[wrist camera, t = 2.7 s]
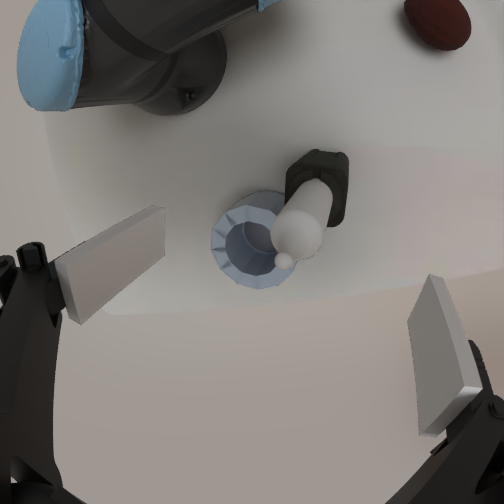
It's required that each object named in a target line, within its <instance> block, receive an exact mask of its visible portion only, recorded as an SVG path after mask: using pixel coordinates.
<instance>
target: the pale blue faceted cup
mask: <svg viewBox="0 0 504 504" xmlns="http://www.w3.org/2000/svg"><path fill="white" fill-rule="evenodd" d="M284 200H285V195H284V194H282V193H280V192H276V191H270V190H264V191H258V192H255V193H253V194H251V195H249V196H247V197H245V198H243V199H241V200H240V201H239V202H237V203H236V204H235V205H233V206H232V207H231V208H229V209H228V210H227V211H225V212H224V214H223V215H222V216H221V218H220V219H219V220H218V222H217V223H216V224H215V226H214V227H213V228H212V239H211V251H212V253H213V255H214V257H215V259H216V262H217V264H218V266H219V268H220V270H222V271H223V272H224V273H225V274H226V275H227V276H229V277H230V278H231V279H232V280H233V281H235V282H236V283H237V284H240V285H244V286H247V287H251V288H254V289H263V288H268V287H273V286H278V285H279V284H280V283H281V282H283V281H284V280H285V279H286V278H287V277H288V276H289V275H290V274H291V273H292V272H293V271H294V268H295V266H296V263H297V261H298V260H294V261H293V265H292V267H291V268H290V269H288V270H281V269H279V268H278V267H277V266H276V265H275V257H276V255H277V254H278V251H277V250H276V249H275V247H274V246H273V244H272V241H271V235H270V231H271V226H272V223H273V221H274V219H275V218H276V217H277V215H278V214H279V213H280V212H281V210H282V209H283V208H284Z"/></svg>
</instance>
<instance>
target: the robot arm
mask: <svg viewBox="0 0 504 504" xmlns="http://www.w3.org/2000/svg"><path fill="white" fill-rule="evenodd" d="M278 1H281V0H38V2H37V3H36V4H35V6H34V7H33V9H32V11H31V13H30V14H29V16H28V18H27V21H26V23H25V26H24V28H23V31H22V35H21V38H20V42H19V49H18V54H17V77H18V84H19V88H20V92H21V94H22V96H23V98H24V100H25V101H26V103H27V104H28V105H29V106H30V107H32V108H34V109H35V110H37V111H61V112H63V111H67V110H69V109H75V108H83V107H93V106H103V105H116V104H133V105H135V106H137V107H139V108H141V109H143V110H145V111H147V112H149V113H152V114H157V115H178V114H183V113H187V112H189V111H192V110H194V109H196V108H197V107H199V106H200V105H202V104H203V103H204V102H205V101H206V100H208V99H209V97H210V96H211V95H212V94H213V93H214V91H215V90H216V89H217V87H218V85H219V84H220V82H221V79H222V77H223V74H224V71H225V67H226V57H227V55H226V47H225V43H224V40H223V38H222V36H221V34H220V33H219V31H218V29H220V28H222V27H224V26H226V25H228V24H230V23H232V22H234V21H236V20H239V19H241V18H243V17H245V16H248V15H250V14H252V13H255V12H258V13H259V12H262V11H263V10H264V9H265V7H267V6H269V5H271V4H274V3H276V2H278ZM164 214H165V208H162V207H158V206H153V205H152V206H150V207H148V208H146V209H144V210H142V211H140V212H139V213H137V214H135V215H133V216H131V217H129V218H127V219H125V220H123V221H121V222H120V223H118V224H116V225H114V226H112V227H110V228H109V229H107V230H105V231H103V232H101V233H100V234H98V235H96V236H94V237H93V238H91V239H89V240H87V241H84V242H83V243H81V244H79V245H78V246H77V247H74V248H72V249H71V250H70V251H67V252H66V253H64V254H62V255H61V256H59V257H57V258H56V259H54V260H53V261H51V262H49V263H48V261H47V257H46V252H45V247H44V245H43V244H42V243H40V242H31V243H27V244H25V245H23V246H21V247H20V248H18V249H17V251H16V252H17V256H18V260H19V264H20V267H16V264H15V260H14V258H13V257H12V256H10V255H6V256H5V255H3V256H0V299H1V302H2V304H3V305H2V307H1V308H0V504H86V503H85V502H83V501H81V500H80V499H78V498H77V497H76V496H74V495H73V494H71V493H70V492H68V491H67V490H66V489H64V488H63V484H62V479H61V475H60V472H59V470H58V468H57V466H56V464H55V460H54V454H53V399H54V383H55V370H56V360H57V352H58V344H59V336H60V330H61V323H62V313H61V310H62V309H63V308H65V307H66V309H67V312H68V316H69V318H70V319H72V320H74V321H75V322H77V323H79V324H80V325H82V324H83V323H84V322H85V321H86V320H87V319H88V318H90V317H91V316H92V315H93V314H94V313H95V312H96V311H98V310H99V309H100V308H101V307H103V306H104V305H105V304H106V303H107V302H108V301H110V300H111V299H112V298H113V297H114V296H116V295H117V294H118V293H119V292H120V291H122V290H123V289H124V288H125V287H126V286H128V285H129V284H130V283H131V282H133V281H134V280H135V279H136V278H137V277H139V276H140V275H141V274H142V273H144V272H145V271H146V270H147V269H149V268H150V267H151V266H152V265H154V264H155V263H156V262H157V261H159V260H160V259H161V258H162V257H164V256H165V226H164ZM407 323H408V329H409V336H410V342H411V348H412V356H413V364H414V372H415V382H416V393H417V407H418V424H419V425H418V427H419V436H424V437H437V436H438V435H439V434H440V433H441V432H443V431H444V430H445V429H446V433H447V438H445V439H444V440H443V441H442V442H441V443H440V444H439V445H438V446H436V447H435V448H434V449H433V450H432V451H431V452H430V453H431V454H432V455H431V456H430V457H429V458H428V459H427V460H426V462H425V463H424V464H423V465H422V466H421V467H420V468H419V470H418V471H417V472H416V473H415V474H414V475H413V476H412V477H411V478H410V480H409V481H408V482H407V483H406V484H405V485H404V486H403V487H402V488H401V489H400V490H399V491H398V492H397V493H396V494H395V495H394V496H393V497H392V498H391V499H390V500H388V501H387V502H386V503H385V504H504V400H503V399H502V398H500V397H499V396H497V395H494V394H493V391H492V388H491V384H490V381H489V377H488V374H487V371H486V369H485V365H484V362H483V361H482V360H483V359H482V356H481V353H480V351H479V349H478V347H477V346H476V345H475V344H474V342H473V341H472V340H468V339H467V336H466V333H465V331H464V328H463V325H462V323H461V320H460V318H459V315H458V313H457V310H456V308H455V305H454V303H453V300H452V298H451V296H450V294H449V291H448V289H447V287H446V284H445V282H444V280H443V278H442V277H438V276H435V275H431V274H429V275H428V277H427V279H426V282H425V284H424V287H423V289H422V291H421V293H420V295H419V298H418V300H417V302H416V304H415V306H414V308H413V310H412V312H411V314H410V317H409V319H408V321H407ZM11 477H12V478H14V479H15V480H16V481H17V483H11Z"/></svg>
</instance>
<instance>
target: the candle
mask: <svg viewBox="0 0 504 504" xmlns="http://www.w3.org/2000/svg"><path fill="white" fill-rule="evenodd" d="M348 177H349V160H348V157H347V156H346V155H345V154H344V153H342V152H338V153H333V152H325V151H319V150H318V149H314V150H311V151H310V152H309V153H307V154H306V155H305V156H303V157H302V158H301V159H299V160H298V161H297V162H295V163H294V164H293V165H291V166H290V167H289V169H288V170H287V173H286V183H285V200H284V208H283V209H282V210H281V212H280V213H279V214H278V215H277V217H276V218H275V219H274V221H273V223H272V226H271V231H270V235H271V241H272V244H273V246H274V247H275V249H276V250H277V251H278V254H277V255H276V257H275V265H276V266H277V267H278V268H279V269H281V270H288V269H290V268H291V267H292V265H293V261H294V260H305V259H308V258H310V257H312V256H313V255H314V254H316V253H317V252H318V250H319V249H320V247H321V246H322V242H323V239H324V235H325V231H326V227H336V226H337V225H339V224H340V223H341V222H342V221H343V219H344V214H345V207H346V199H347V191H348Z"/></svg>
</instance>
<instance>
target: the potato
mask: <svg viewBox="0 0 504 504" xmlns="http://www.w3.org/2000/svg"><path fill="white" fill-rule="evenodd" d="M404 11H405V13H406V16H407V18H408V20H409V22H410V24H411V26H412V27H413V28H414V30H415V31H416V33H417V34H418V35H419V36H420V37H421V38H422V39H423V40H424V41H425V42H426V43H427V44H428V45H430V46H432V47H434V48H436V49H440V50H446V51H450V50H456V49H458V48H460V47H462V46H463V45H464V44H465V43H466V42H467V40H468V39H469V37H470V34H471V21H470V18H469V15H468V13H467V11H466V9H465V8H464V6H463V5H462V3H461V2H460V1H459V0H406V1H405V2H404Z"/></svg>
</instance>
